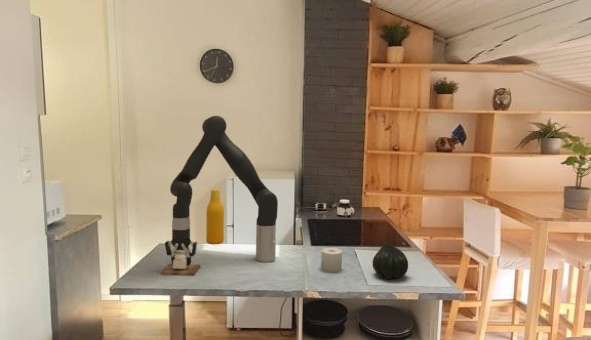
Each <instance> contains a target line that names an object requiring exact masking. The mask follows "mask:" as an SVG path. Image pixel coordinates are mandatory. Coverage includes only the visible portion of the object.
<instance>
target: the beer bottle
mask: <svg viewBox="0 0 591 340" xmlns="http://www.w3.org/2000/svg"><path fill="white" fill-rule="evenodd" d="M220 195H221V194H220V189H219V188H218V189H217V188H215V189H214V188H213V189H211V190H210V199H209V202H208V205H207V207H206V243H207V244H208V245H221V244H223V243H224V240H225V239H224V238H225V237H224V228H225V227H224V226H225V225H224V224H225V223H224V221H225V220H224V219H225V218H224V216H225V214H224V213H225V210H224V206H223V204H222V203H223V202H221V196H220Z"/></svg>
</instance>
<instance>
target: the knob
mask: <svg viewBox="0 0 591 340" xmlns="http://www.w3.org/2000/svg"><path fill="white" fill-rule="evenodd" d="M187 267H188V266H187V255H186V253H185V252H184V251H182V250H178V251H177V252H175V259H174V260H173V268H176V269H186V268H187Z"/></svg>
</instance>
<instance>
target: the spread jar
mask: <svg viewBox="0 0 591 340" xmlns="http://www.w3.org/2000/svg"><path fill="white" fill-rule="evenodd" d="M336 209H337V210H336V214H337V215H350V216H352V215H351V213H353V214H354V213H355V209H354V207H352V205H351V203H350V199H340V200H339V203H338V204H337V207H336Z"/></svg>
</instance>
